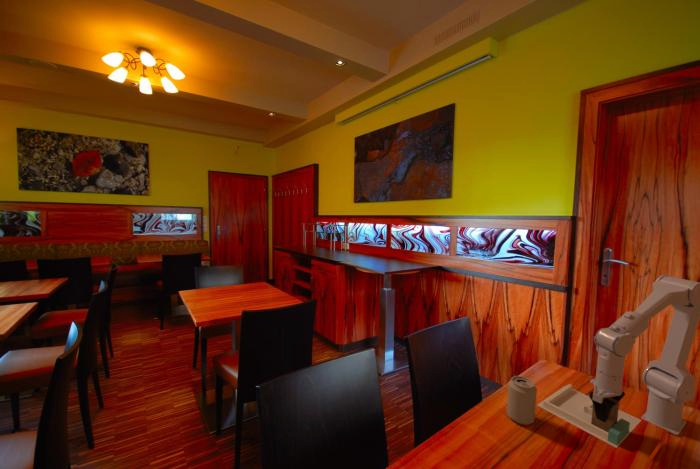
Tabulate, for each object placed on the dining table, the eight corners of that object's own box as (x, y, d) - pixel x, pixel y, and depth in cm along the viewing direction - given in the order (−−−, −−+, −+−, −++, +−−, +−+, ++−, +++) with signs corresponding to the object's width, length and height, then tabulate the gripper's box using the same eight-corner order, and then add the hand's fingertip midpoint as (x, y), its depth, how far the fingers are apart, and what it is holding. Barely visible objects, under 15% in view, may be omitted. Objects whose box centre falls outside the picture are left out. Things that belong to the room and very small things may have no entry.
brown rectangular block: (597, 418, 93) (600, 392, 92) (616, 427, 89) (619, 401, 88) (591, 423, 91) (593, 398, 90) (610, 433, 87) (613, 406, 86)
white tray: (565, 387, 111) (565, 377, 110) (641, 421, 94) (642, 410, 93) (536, 406, 100) (537, 396, 100) (616, 449, 83) (617, 437, 83)
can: (527, 410, 99) (530, 374, 97) (539, 427, 91) (542, 389, 90) (502, 408, 99) (505, 373, 98) (512, 425, 92) (515, 387, 90)
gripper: (602, 358, 95) (598, 400, 97) (581, 372, 87) (577, 417, 89) (632, 369, 89) (627, 413, 91) (613, 385, 81) (607, 433, 83)
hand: (604, 416), depth 90 cm, fingers closed on brown rectangular block, 4 cm apart
